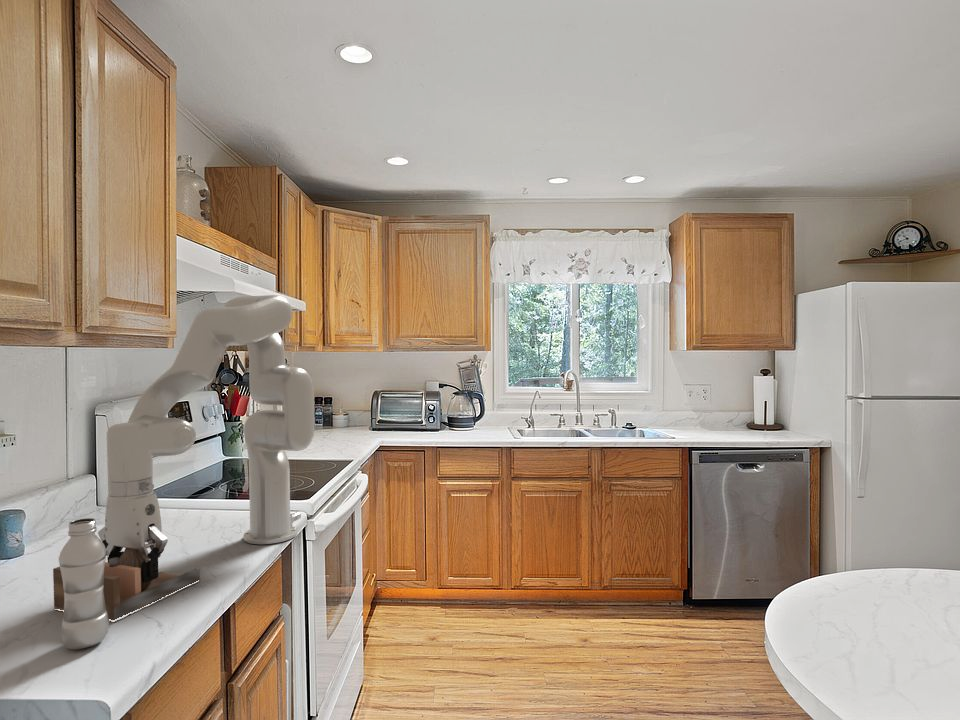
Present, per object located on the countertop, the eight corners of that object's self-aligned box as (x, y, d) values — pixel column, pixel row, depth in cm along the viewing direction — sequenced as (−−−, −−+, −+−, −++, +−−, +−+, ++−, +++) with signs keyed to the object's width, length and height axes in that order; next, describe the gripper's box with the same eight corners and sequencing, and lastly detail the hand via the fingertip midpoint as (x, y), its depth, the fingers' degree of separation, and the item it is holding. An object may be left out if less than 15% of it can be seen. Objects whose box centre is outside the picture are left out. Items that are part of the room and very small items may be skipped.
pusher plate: (96, 592, 115) (95, 553, 115) (142, 601, 111) (141, 561, 111) (88, 595, 114) (87, 556, 114) (134, 604, 110) (133, 564, 110)
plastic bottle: (118, 633, 100) (115, 514, 100) (93, 654, 94) (90, 527, 93) (78, 634, 100) (75, 515, 100) (50, 655, 93) (47, 528, 93)
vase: (108, 600, 112) (106, 553, 112) (119, 585, 119) (118, 541, 119) (149, 595, 114) (148, 550, 114) (158, 581, 121) (157, 538, 120)
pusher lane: (144, 572, 127) (144, 536, 127) (200, 581, 122) (199, 544, 122) (54, 610, 109) (53, 568, 109) (114, 622, 104) (113, 579, 104)
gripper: (181, 486, 116) (183, 575, 117) (115, 479, 122) (118, 564, 123) (147, 495, 109) (150, 590, 110) (80, 488, 115) (82, 578, 116)
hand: (133, 576), depth 116 cm, fingers open, 8 cm apart
